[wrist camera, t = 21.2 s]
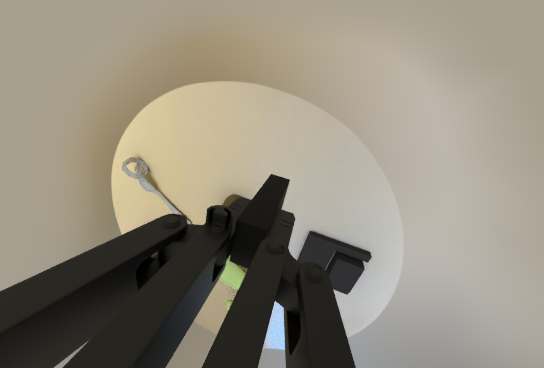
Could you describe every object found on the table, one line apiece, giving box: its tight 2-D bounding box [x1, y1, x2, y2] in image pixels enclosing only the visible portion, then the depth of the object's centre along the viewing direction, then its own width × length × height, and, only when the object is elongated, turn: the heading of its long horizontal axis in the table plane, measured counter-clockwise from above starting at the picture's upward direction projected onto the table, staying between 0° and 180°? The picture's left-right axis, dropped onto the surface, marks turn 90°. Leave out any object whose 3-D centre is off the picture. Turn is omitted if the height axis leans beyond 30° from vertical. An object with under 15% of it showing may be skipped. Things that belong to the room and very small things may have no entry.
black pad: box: [297, 231, 371, 294], centre depth 47 cm, size 14×13×2 cm
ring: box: [122, 157, 148, 179], centre depth 47 cm, size 3×5×5 cm, turn 36°
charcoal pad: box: [326, 251, 364, 293], centre depth 45 cm, size 6×8×3 cm
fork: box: [134, 165, 192, 224], centre depth 52 cm, size 3×21×3 cm, turn 39°
